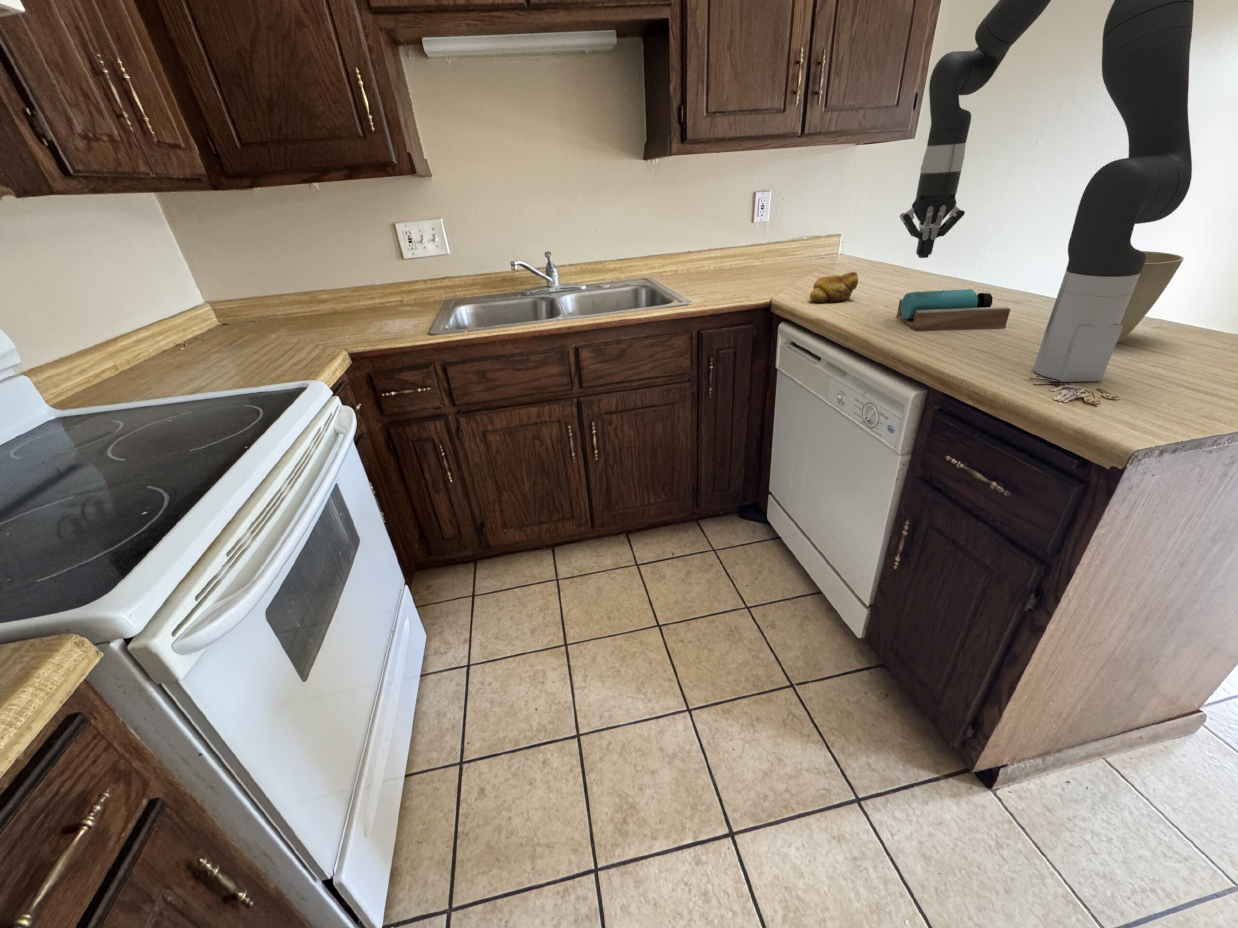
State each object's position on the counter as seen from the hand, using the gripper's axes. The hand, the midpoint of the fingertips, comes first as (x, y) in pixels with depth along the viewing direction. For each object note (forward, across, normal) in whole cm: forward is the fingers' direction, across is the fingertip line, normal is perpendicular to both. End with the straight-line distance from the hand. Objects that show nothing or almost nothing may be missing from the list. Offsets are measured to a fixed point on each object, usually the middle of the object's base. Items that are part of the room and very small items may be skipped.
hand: (923, 257), depth 118 cm
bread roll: (+15, -13, +28) cm, 34 cm away
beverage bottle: (+11, -3, 0) cm, 11 cm away
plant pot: (+15, +31, -16) cm, 38 cm away
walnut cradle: (+15, +8, 0) cm, 17 cm away
